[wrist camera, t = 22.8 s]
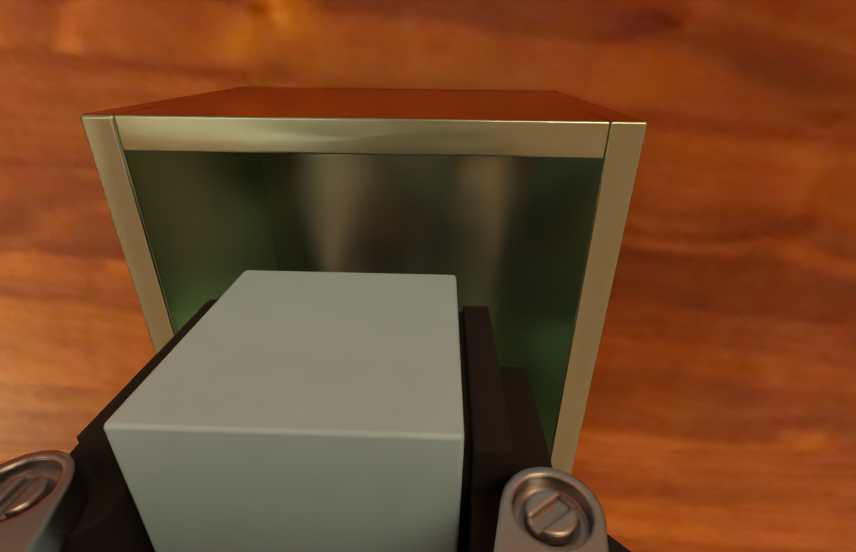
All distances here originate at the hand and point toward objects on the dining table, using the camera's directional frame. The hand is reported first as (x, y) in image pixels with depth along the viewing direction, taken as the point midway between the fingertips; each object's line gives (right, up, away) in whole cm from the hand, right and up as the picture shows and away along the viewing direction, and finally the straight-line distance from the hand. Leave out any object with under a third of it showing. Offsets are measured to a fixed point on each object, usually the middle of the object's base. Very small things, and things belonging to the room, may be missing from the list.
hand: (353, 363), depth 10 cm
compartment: (0, +2, +11) cm, 12 cm away
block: (0, 0, 0) cm, 0 cm away
